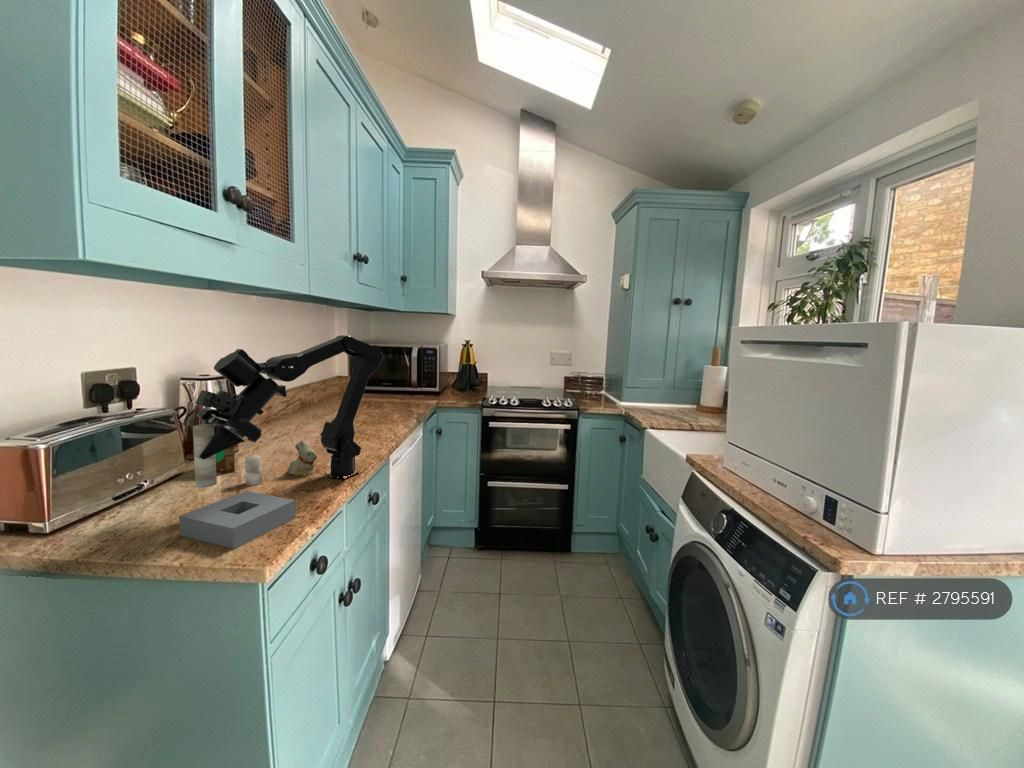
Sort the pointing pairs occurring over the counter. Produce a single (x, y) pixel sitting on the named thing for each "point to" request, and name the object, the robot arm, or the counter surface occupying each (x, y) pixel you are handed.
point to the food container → (225, 461)
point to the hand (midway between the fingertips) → (197, 456)
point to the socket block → (237, 519)
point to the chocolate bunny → (303, 460)
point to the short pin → (253, 470)
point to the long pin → (204, 467)
